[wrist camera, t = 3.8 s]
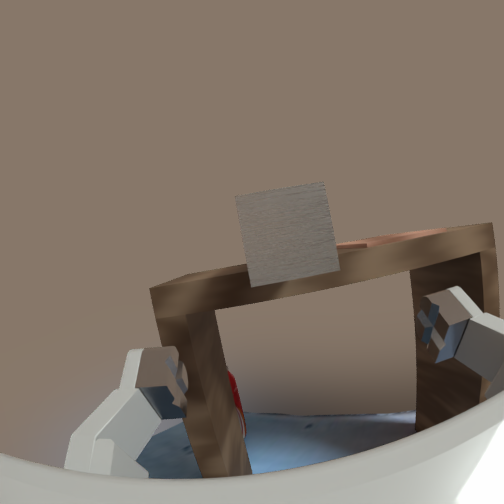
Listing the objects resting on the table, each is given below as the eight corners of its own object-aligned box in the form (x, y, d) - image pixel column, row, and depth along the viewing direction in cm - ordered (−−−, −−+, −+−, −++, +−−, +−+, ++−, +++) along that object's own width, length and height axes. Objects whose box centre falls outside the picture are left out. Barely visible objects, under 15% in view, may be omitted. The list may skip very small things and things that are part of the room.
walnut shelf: (232, 546, 19) (148, 283, 19) (236, 473, 32) (187, 271, 32) (477, 472, 19) (491, 218, 19) (427, 424, 32) (417, 228, 32)
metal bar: (251, 287, 10) (234, 196, 10) (250, 263, 32) (244, 233, 32) (339, 270, 10) (323, 181, 10) (279, 257, 32) (273, 228, 32)
